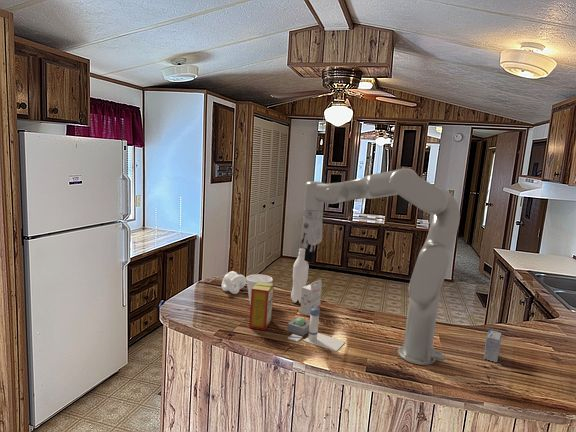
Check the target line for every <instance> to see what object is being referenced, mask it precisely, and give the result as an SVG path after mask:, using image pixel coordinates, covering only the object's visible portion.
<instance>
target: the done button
mask: <svg viewBox="0 0 576 432" xmlns="http://www.w3.org/2000/svg"><path fill="white" fill-rule="evenodd" d="M295 318H296V322H295V324H296V325H299V326H303V325H304V320H305V318H302V317H295Z"/></svg>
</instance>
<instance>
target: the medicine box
mask: <svg viewBox="0 0 576 432" xmlns="http://www.w3.org/2000/svg"><path fill="white" fill-rule="evenodd" d="M502 337H503V334H502V333H501V332H498V331H496V330H492V329H491V330H488V333H487V335H486V339H485V346H484V352H483V360H485V359H487V360H486V361H488V360H490V361H489V362H491V361H494V362H493V363H495V362H497V363H498V360H499V355H500V348H501V343H502V342H501V340H502Z"/></svg>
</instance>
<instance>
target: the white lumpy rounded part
mask: <svg viewBox="0 0 576 432" xmlns="http://www.w3.org/2000/svg"><path fill="white" fill-rule="evenodd" d="M246 285H247V280H246V276H245V275H243V274H238V272H236V271H234V270H232V271H229V272H227V273H226V274H225V275H224V276H223V279H222V281H221V289H222V291H224V292H230V293H231V294H233V295H236V294H237V295H238V293H239V292H240V290H241V289H242V288H244V287H245V286H246Z"/></svg>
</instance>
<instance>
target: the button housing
mask: <svg viewBox="0 0 576 432" xmlns="http://www.w3.org/2000/svg"><path fill="white" fill-rule="evenodd" d="M296 318H297V317H295V318H294V319H292V320H291V321H289V322H288V323H287V325H286V332H289V333H292V334H295V335H298V336H301V337H303V336H306V335H307V334H309V325H310V321H308V320H305V319H304V325H303V326H299V325H296V324H295V322H296Z"/></svg>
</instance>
